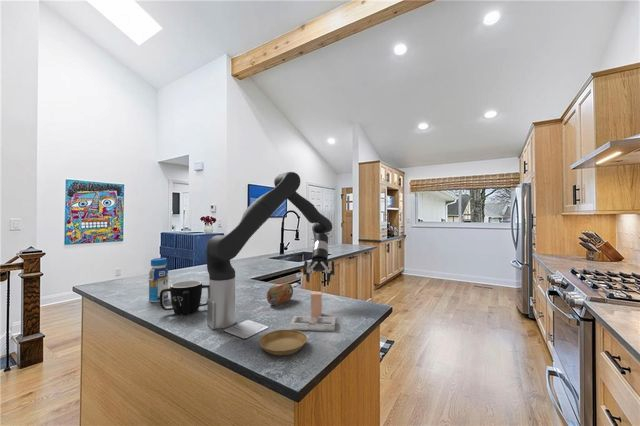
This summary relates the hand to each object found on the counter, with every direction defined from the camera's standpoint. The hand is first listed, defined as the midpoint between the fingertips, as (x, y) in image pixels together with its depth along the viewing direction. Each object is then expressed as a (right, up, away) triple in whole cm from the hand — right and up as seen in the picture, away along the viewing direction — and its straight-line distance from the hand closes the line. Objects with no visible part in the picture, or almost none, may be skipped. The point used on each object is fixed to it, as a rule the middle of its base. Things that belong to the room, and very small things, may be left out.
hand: (318, 282), depth 119 cm
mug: (-56, -12, -4) cm, 57 cm away
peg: (-1, -11, -8) cm, 14 cm away
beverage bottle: (-78, -12, +13) cm, 80 cm away
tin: (-18, -12, +9) cm, 23 cm away
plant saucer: (-10, -12, -35) cm, 38 cm away
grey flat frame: (-2, -11, -19) cm, 22 cm away
